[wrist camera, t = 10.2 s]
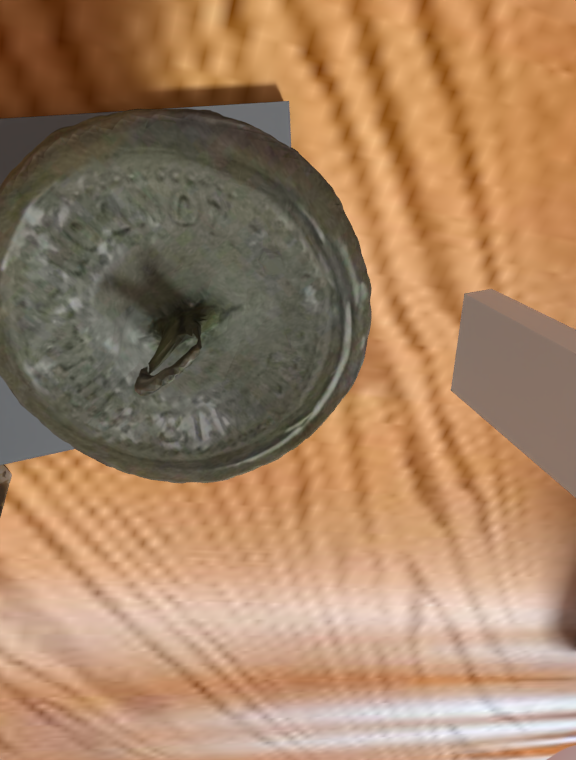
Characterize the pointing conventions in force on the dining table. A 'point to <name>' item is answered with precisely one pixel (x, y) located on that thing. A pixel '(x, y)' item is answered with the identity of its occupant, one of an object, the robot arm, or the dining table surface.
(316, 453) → the dining table surface
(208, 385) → the lid
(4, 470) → the coffee box
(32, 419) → the placemat
